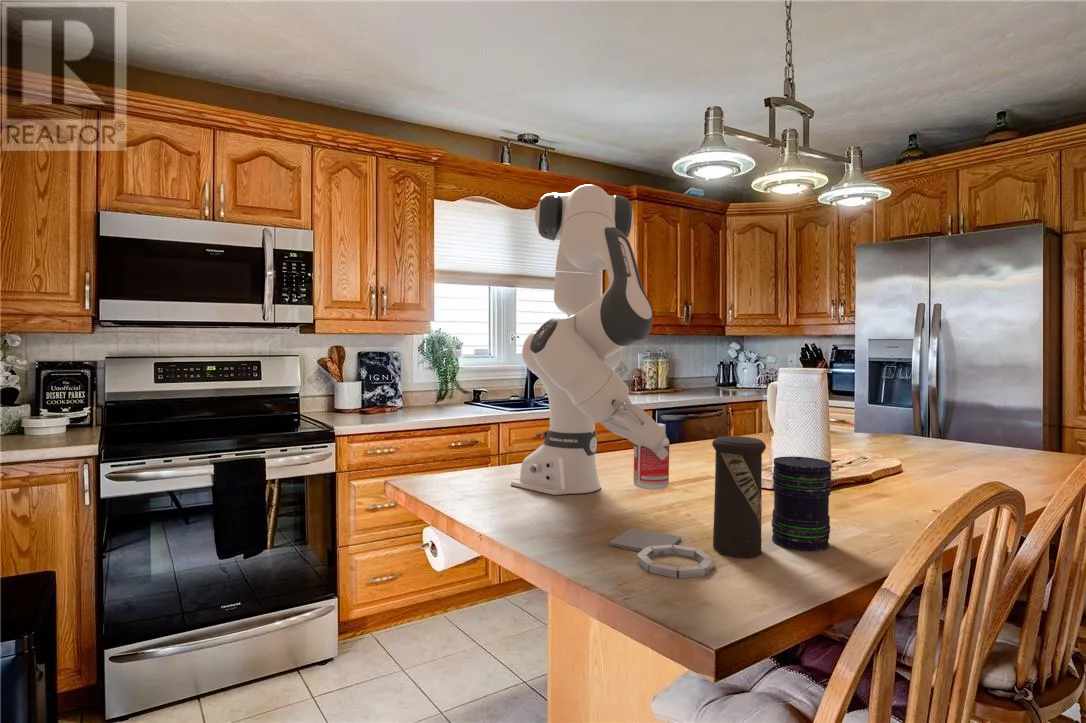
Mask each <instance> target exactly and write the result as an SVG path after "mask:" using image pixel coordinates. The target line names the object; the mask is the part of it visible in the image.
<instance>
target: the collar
mask: <svg viewBox="0 0 1086 723" xmlns="http://www.w3.org/2000/svg"><path fill="white" fill-rule="evenodd" d="M659 552H664V556H666V555H667V556H668V555H675V556H681V557H687V558H693V559H695V560H696V561H697V562H699V565H691V566H689V565H688V566H679V567H676V566H672V565H669V564H668V565H667V564H663V563H657V562H655V561H654V560H652V558H653V557H654V556H656V557H658V556H659ZM636 563H637V564H638V565H639V566H641V568H643V570H645V571H646V572H647V573H649V574H654V575H659V576H664V577H668V578H672V579H687V578H688V579H689V578H698V577H699V578H700V577H705V576H707V575H708V574H710V572H711V571H712V569H713V568H715V558H714V557H712V556H711V555H709V554H708V553H706V551H705V552H704V551H703V550H702V549H699V548H696V547H695V548H694V547H690V546H683V545H678V544H676V545H672V544H671V545H659V546H648V547H646V548H644V549H643V550H642V551H641V552H638V553H637V554H636Z"/></svg>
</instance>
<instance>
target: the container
mask: <svg viewBox="0 0 1086 723" xmlns="http://www.w3.org/2000/svg"><path fill="white" fill-rule="evenodd" d="M712 447H713V449H714V450H715V466H714V468H715V469H714V470H715V471H714V472H715V473H714V474H715V475H714V477H715V478H714V505H713V506H714V509H713V534H712V535H713V536H712V546H713V547H712V548H713V550H715V551H717V552H719V553H721V554H724V555H726V556H730V557H736V558H754V557H758V556H760V554H761V553H762V508H763V506H762V496H763V495H762V492H763V490H762V488H763V487H762V481H763V480H762V475H763V474H762V473H763V472H762V469H763V465H762V464H763V461H762V460H763V458H762V457H763V453H764V452H765V451H766V449H767V445H766V443H765V442H764V441H763V440H762V439H760V438H757V437H752V436H751V437H750V436H741V435H740V436H738V435H731V436H730V435H727V436H724V435H723V436H718V437H716V438H714V439H713V440H712Z"/></svg>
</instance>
